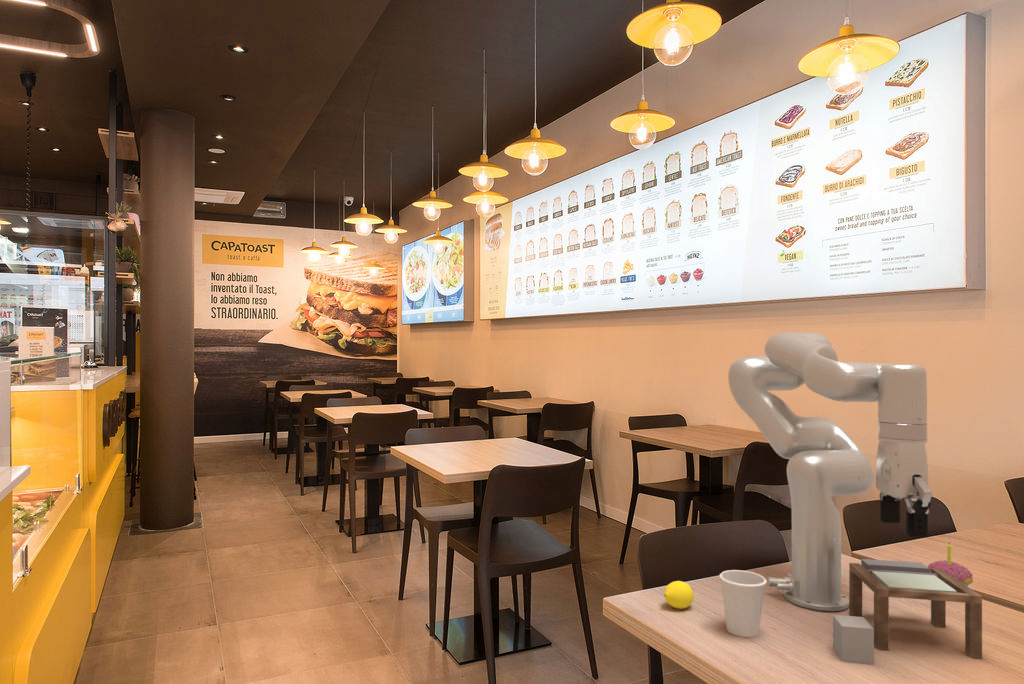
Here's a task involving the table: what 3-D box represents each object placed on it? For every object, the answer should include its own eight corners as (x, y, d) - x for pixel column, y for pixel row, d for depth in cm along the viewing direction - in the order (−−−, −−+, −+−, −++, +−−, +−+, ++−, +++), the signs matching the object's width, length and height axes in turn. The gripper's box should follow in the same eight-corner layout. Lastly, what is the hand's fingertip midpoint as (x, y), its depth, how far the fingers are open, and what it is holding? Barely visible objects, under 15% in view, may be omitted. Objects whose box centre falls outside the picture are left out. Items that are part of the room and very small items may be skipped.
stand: (877, 649, 114) (877, 589, 114) (849, 616, 129) (849, 562, 129) (982, 658, 111) (982, 596, 111) (941, 623, 126) (941, 568, 126)
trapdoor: (886, 601, 116) (886, 583, 116) (858, 574, 130) (858, 558, 130) (960, 606, 114) (960, 588, 114) (923, 579, 128) (923, 562, 128)
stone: (841, 661, 110) (841, 626, 110) (832, 648, 115) (832, 614, 115) (873, 664, 109) (873, 628, 109) (863, 651, 114) (863, 617, 114)
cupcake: (974, 605, 136) (974, 547, 136) (926, 596, 140) (926, 541, 140) (971, 592, 143) (971, 538, 143) (925, 585, 147) (925, 532, 148)
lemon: (681, 603, 136) (684, 577, 136) (699, 612, 131) (702, 585, 132) (655, 603, 133) (658, 577, 134) (672, 613, 128) (675, 585, 129)
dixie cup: (709, 625, 124) (710, 572, 124) (743, 618, 127) (743, 567, 127) (741, 643, 116) (741, 587, 116) (776, 636, 119) (776, 581, 120)
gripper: (859, 427, 125) (860, 516, 124) (903, 437, 108) (904, 541, 107) (901, 428, 124) (901, 518, 124) (951, 439, 107) (952, 543, 106)
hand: (903, 529), depth 115 cm, fingers open, 9 cm apart
